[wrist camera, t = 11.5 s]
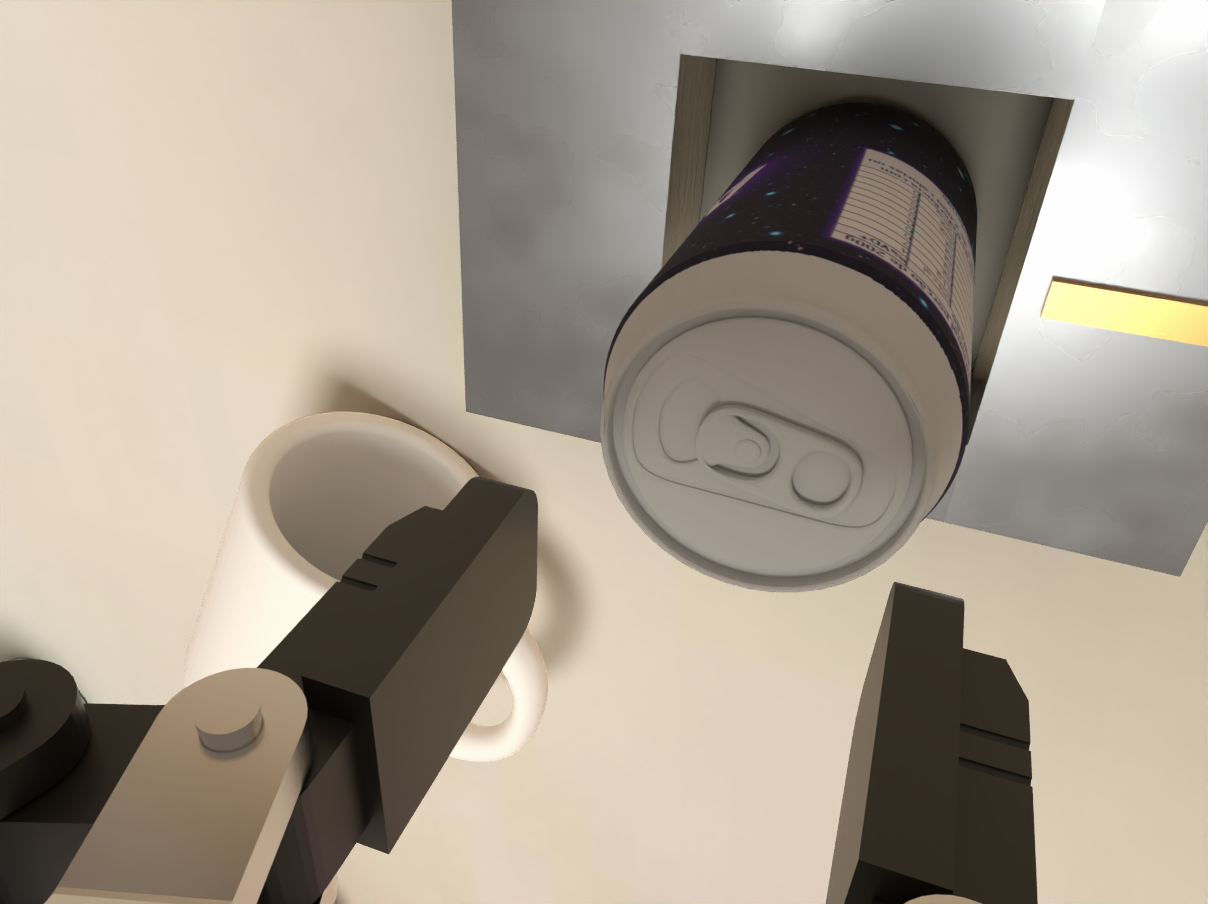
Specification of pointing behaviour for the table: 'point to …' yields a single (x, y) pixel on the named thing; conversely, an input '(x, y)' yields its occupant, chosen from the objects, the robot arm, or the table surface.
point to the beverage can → (803, 358)
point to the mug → (335, 548)
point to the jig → (1031, 272)
